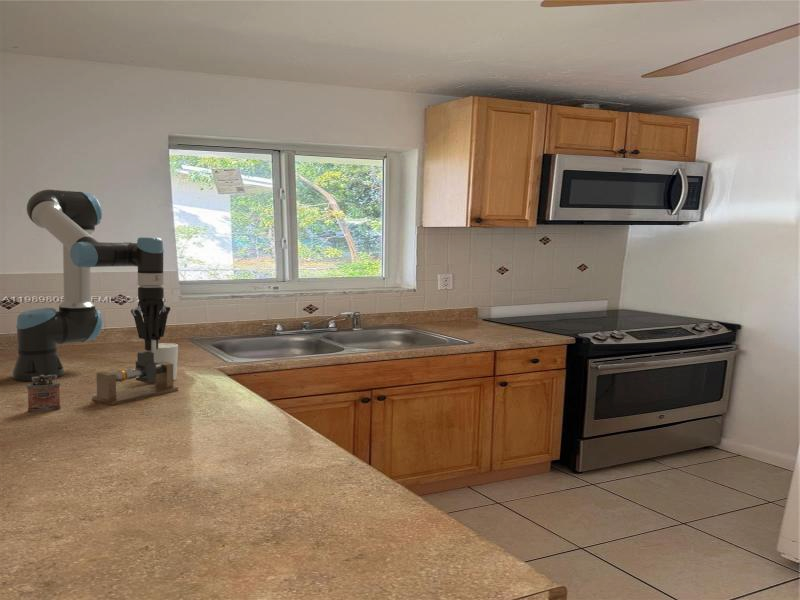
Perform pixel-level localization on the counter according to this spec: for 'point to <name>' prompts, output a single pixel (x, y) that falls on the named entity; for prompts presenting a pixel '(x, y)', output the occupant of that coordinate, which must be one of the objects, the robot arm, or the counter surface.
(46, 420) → the counter surface
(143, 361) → the collar
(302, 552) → the counter surface
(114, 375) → the pipe rig
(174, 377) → the candle holder
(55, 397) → the lighter
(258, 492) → the counter surface
